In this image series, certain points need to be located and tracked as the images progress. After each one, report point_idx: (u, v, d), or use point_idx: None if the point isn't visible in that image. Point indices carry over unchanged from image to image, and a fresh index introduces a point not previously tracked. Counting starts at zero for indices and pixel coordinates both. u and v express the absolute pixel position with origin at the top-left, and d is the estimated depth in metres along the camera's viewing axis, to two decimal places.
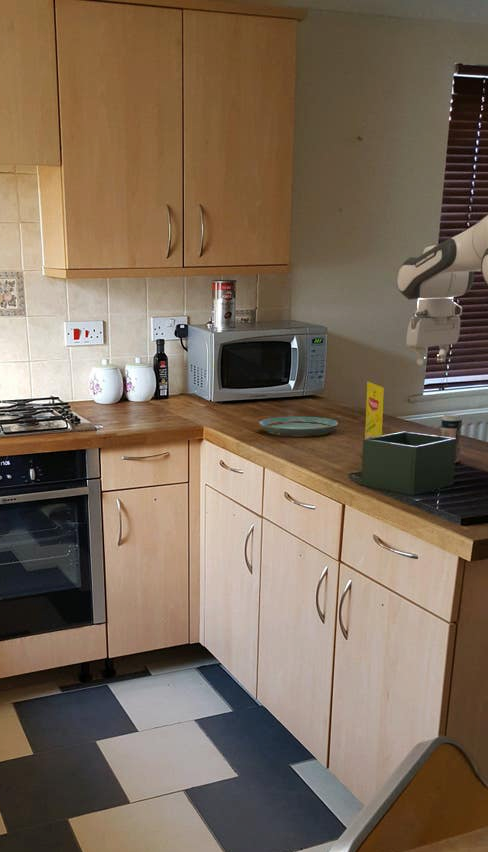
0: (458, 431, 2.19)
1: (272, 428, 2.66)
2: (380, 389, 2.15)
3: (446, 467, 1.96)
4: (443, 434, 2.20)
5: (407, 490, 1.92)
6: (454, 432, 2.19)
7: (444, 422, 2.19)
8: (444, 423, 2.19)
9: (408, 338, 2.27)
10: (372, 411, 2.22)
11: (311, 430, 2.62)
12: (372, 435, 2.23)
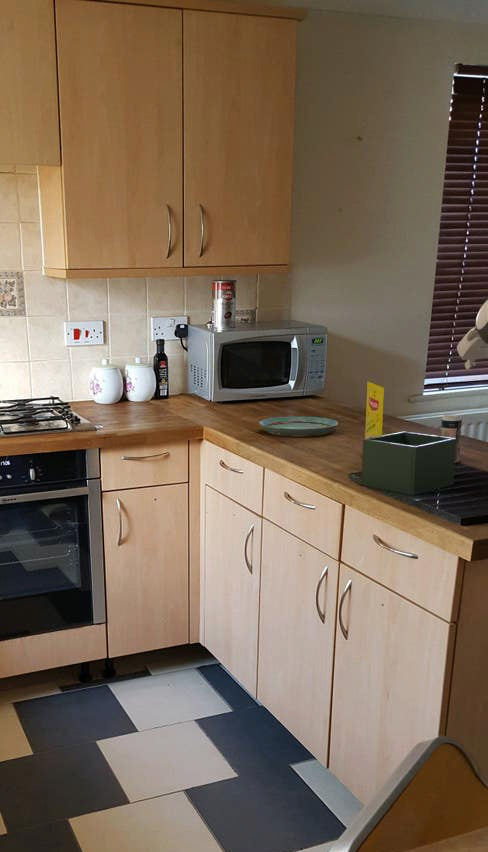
0: (458, 431, 2.19)
1: (272, 428, 2.66)
2: (380, 389, 2.15)
3: (446, 467, 1.96)
4: (443, 434, 2.20)
5: (407, 490, 1.92)
6: (454, 433, 2.19)
7: (444, 422, 2.19)
8: (444, 423, 2.19)
9: (460, 344, 1.96)
10: (372, 411, 2.22)
11: (311, 430, 2.62)
12: (372, 435, 2.23)
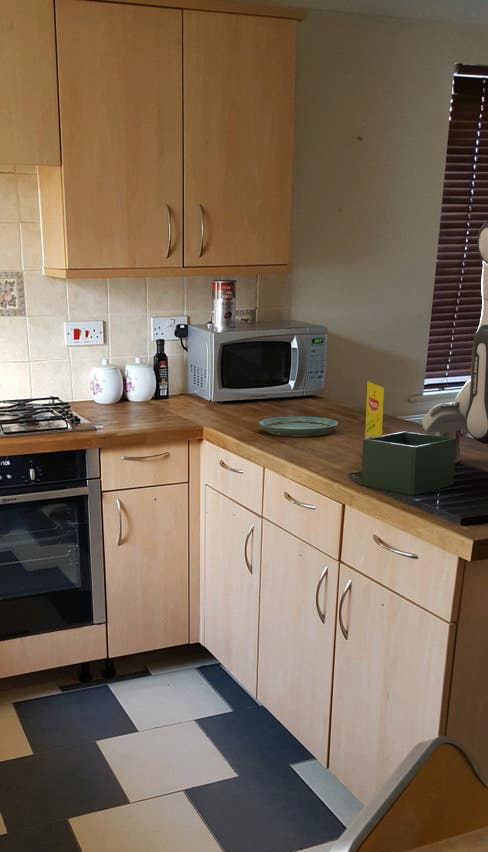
0: (458, 431, 2.19)
1: (272, 428, 2.66)
2: (380, 389, 2.15)
3: (446, 467, 1.96)
4: None
5: (407, 490, 1.92)
6: (454, 432, 2.19)
7: None
8: None
9: (424, 418, 2.14)
10: (372, 411, 2.22)
11: (311, 430, 2.62)
12: (372, 435, 2.23)
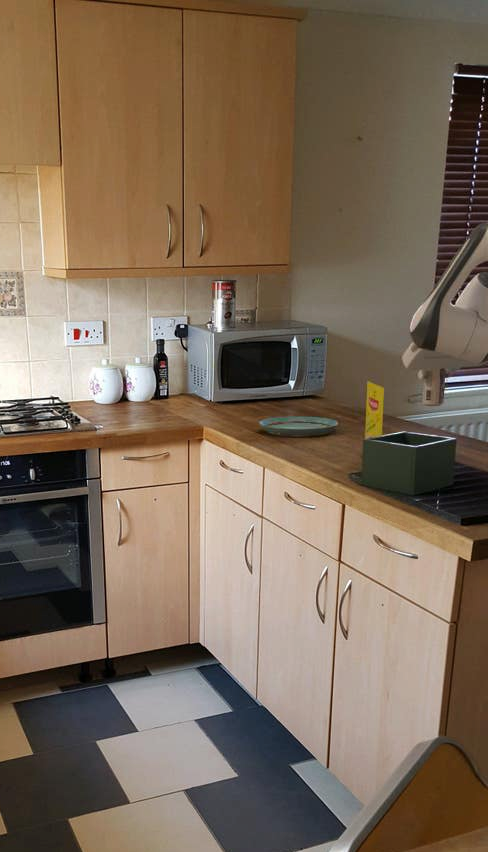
0: (442, 370, 2.01)
1: (272, 428, 2.66)
2: (380, 389, 2.15)
3: (446, 467, 1.96)
4: None
5: (407, 490, 1.92)
6: (438, 371, 2.01)
7: None
8: None
9: (405, 354, 1.96)
10: (372, 411, 2.22)
11: (311, 430, 2.62)
12: (372, 435, 2.23)
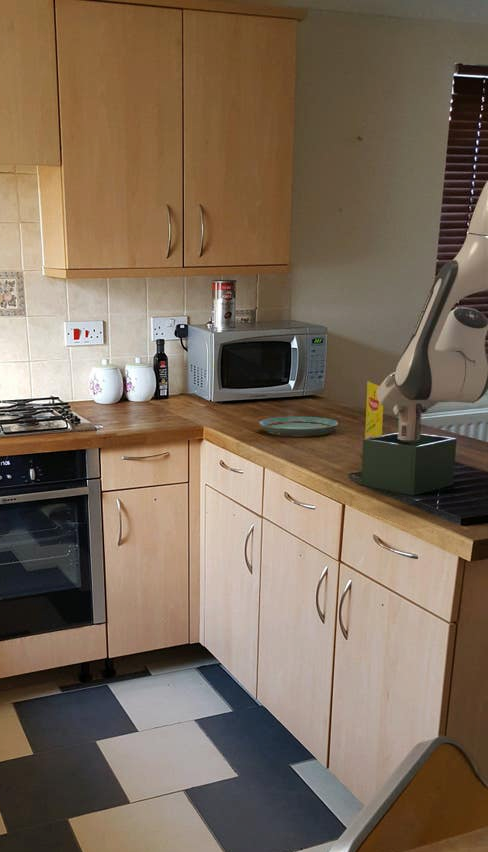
0: (418, 405, 1.93)
1: (272, 428, 2.66)
2: None
3: (446, 467, 1.96)
4: None
5: (407, 490, 1.92)
6: (414, 406, 1.92)
7: None
8: None
9: (379, 389, 1.87)
10: (372, 411, 2.22)
11: (311, 430, 2.62)
12: (372, 435, 2.23)
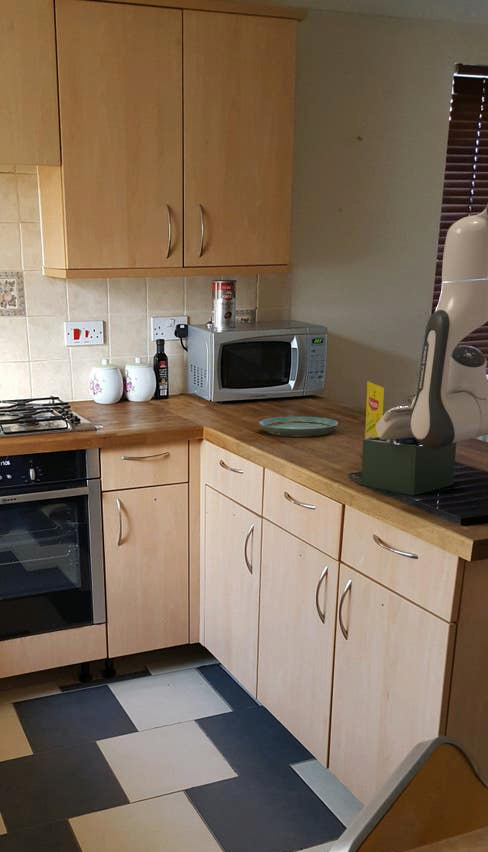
0: None
1: (272, 428, 2.66)
2: (380, 389, 2.15)
3: (446, 467, 1.96)
4: None
5: (407, 490, 1.92)
6: None
7: (401, 438, 1.96)
8: (401, 439, 1.96)
9: (378, 424, 1.90)
10: (372, 411, 2.22)
11: (311, 430, 2.62)
12: (372, 435, 2.23)
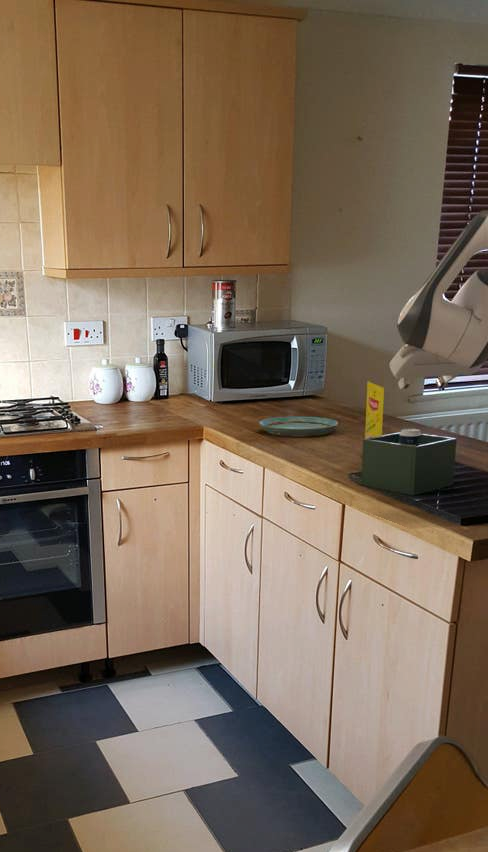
0: None
1: (272, 428, 2.66)
2: (380, 389, 2.15)
3: (446, 467, 1.96)
4: None
5: (407, 490, 1.92)
6: None
7: (402, 438, 1.96)
8: (402, 439, 1.96)
9: (393, 360, 1.79)
10: (372, 411, 2.22)
11: (311, 430, 2.62)
12: (372, 435, 2.23)
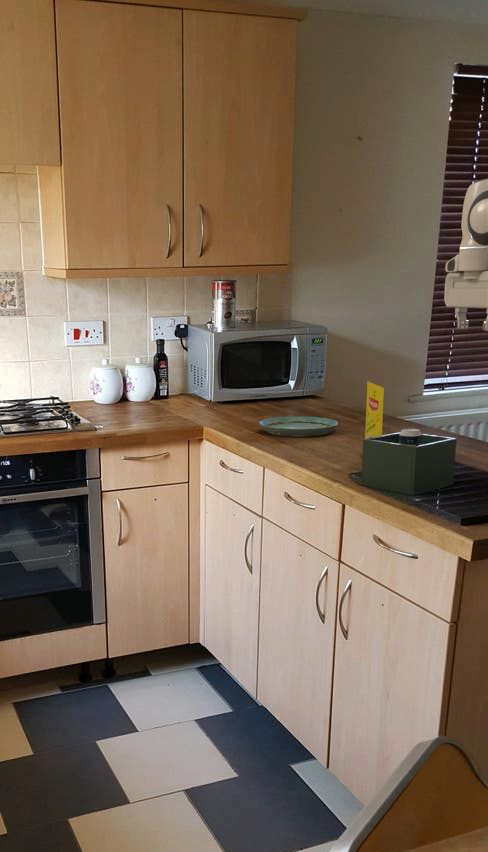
0: None
1: (272, 428, 2.66)
2: (380, 389, 2.15)
3: (446, 467, 1.96)
4: None
5: (407, 490, 1.92)
6: None
7: (402, 438, 1.96)
8: (402, 439, 1.96)
9: None
10: (372, 411, 2.22)
11: (311, 430, 2.62)
12: (372, 435, 2.23)
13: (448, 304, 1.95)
